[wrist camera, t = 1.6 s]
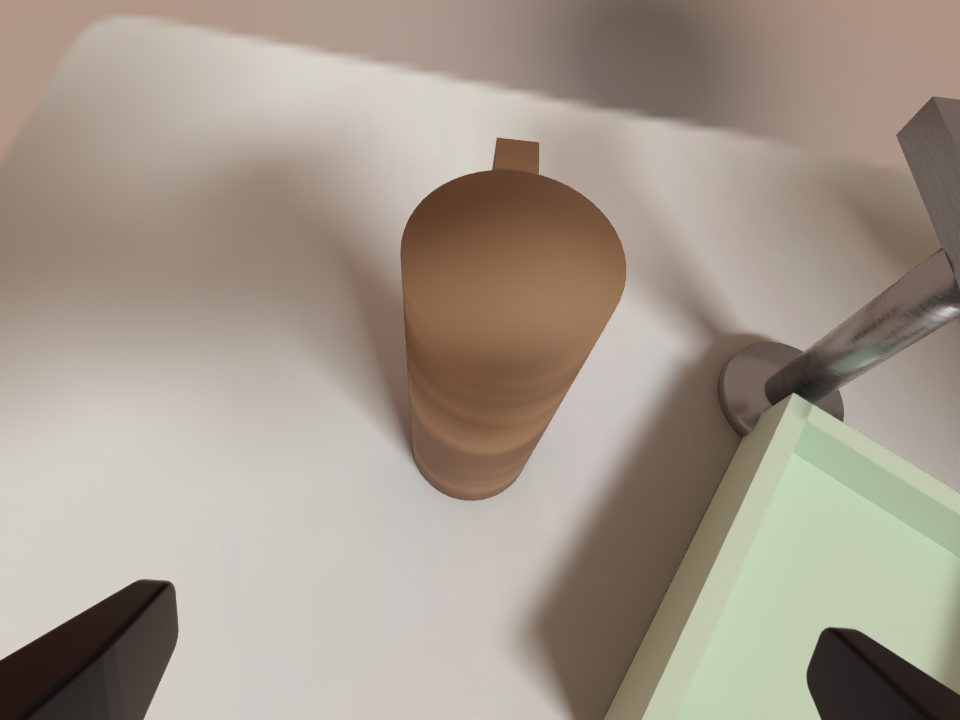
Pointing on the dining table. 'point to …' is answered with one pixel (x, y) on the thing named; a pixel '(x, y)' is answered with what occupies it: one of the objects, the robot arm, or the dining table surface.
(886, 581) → the tray
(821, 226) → the dining table surface
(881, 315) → the t stake
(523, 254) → the brown coffee tumbler
